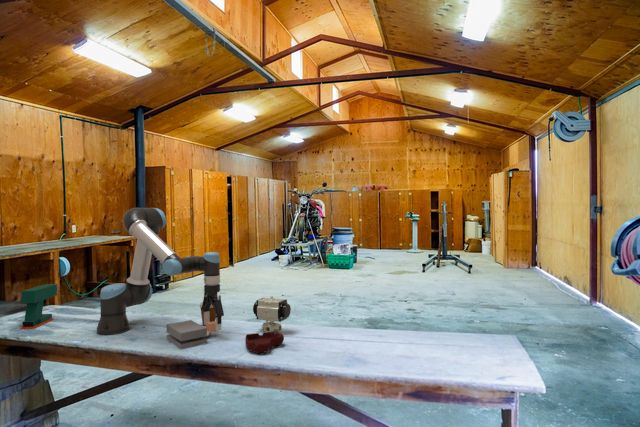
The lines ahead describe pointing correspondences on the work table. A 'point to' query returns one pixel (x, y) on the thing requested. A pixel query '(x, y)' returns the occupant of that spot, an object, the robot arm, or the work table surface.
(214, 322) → the orange stepped block
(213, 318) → the disposable coffee cup
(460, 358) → the work table surface
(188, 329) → the block
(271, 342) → the ashtray
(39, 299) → the power tool
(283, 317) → the ball valve
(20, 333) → the work table surface
